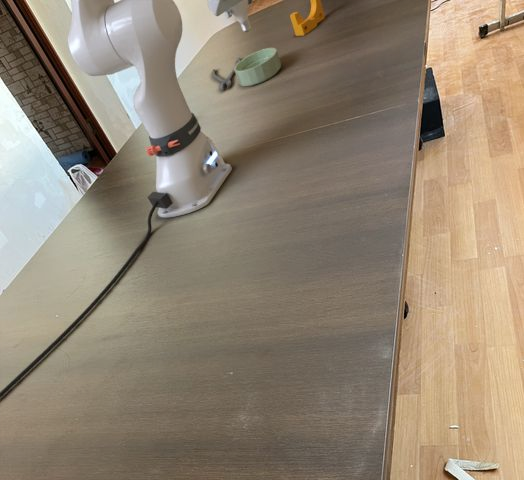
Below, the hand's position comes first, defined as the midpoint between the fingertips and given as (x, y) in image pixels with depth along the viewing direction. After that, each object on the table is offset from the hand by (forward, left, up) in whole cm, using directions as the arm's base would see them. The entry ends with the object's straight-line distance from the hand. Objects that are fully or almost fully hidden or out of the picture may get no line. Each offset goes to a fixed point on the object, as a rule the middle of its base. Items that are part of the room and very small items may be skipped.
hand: (238, 9), depth 141 cm
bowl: (+2, +1, -19) cm, 19 cm away
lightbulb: (0, 0, -6) cm, 6 cm away
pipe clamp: (+32, -12, -20) cm, 39 cm away
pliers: (+12, +16, -19) cm, 28 cm away
